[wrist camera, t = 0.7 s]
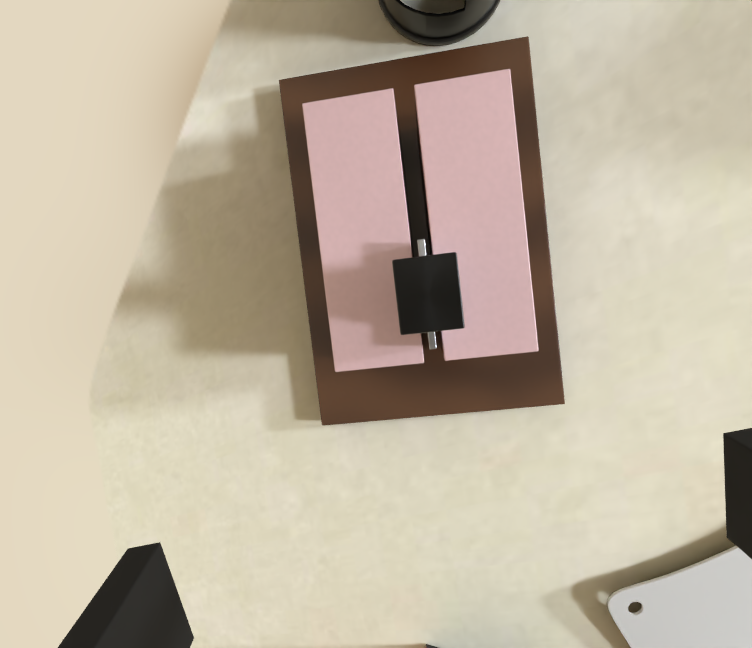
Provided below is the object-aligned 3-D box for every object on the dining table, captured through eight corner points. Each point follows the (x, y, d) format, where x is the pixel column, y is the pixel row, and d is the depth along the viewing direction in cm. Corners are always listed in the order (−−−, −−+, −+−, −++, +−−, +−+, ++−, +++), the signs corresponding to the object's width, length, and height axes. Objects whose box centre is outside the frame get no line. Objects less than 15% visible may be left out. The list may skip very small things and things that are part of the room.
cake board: (284, 88, 36) (278, 79, 34) (524, 47, 34) (528, 35, 32) (326, 420, 37) (321, 425, 36) (559, 399, 35) (565, 404, 34)
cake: (326, 141, 34) (301, 103, 27) (492, 115, 33) (510, 68, 26) (352, 357, 35) (334, 372, 28) (515, 339, 34) (539, 351, 27)
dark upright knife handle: (406, 255, 34) (386, 209, 16) (437, 251, 34) (451, 200, 16) (416, 336, 35) (405, 384, 16) (446, 333, 34) (470, 377, 16)
